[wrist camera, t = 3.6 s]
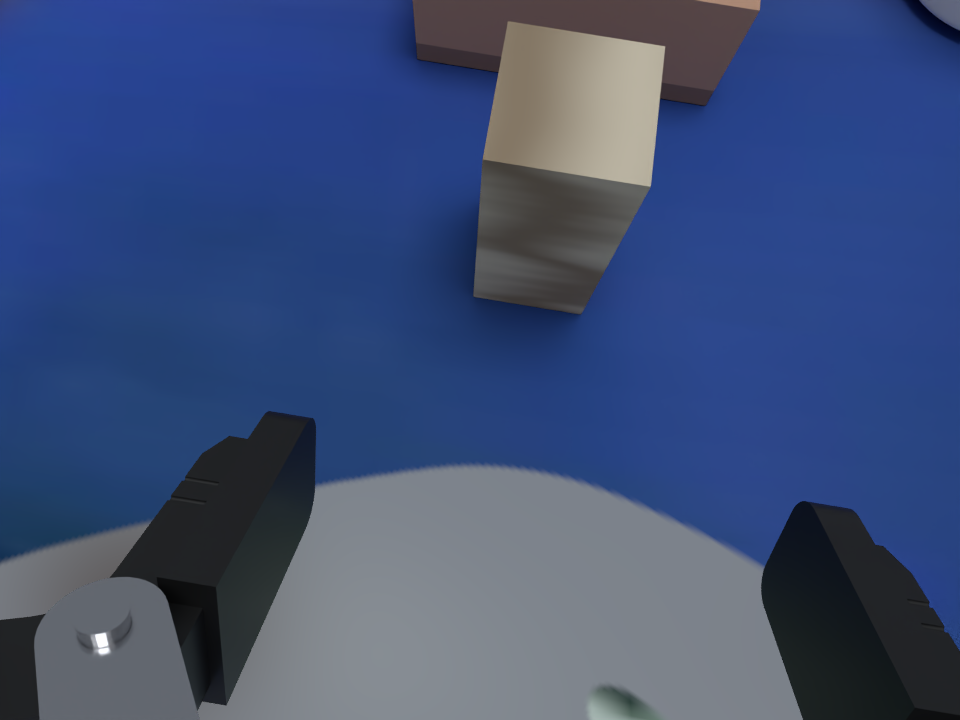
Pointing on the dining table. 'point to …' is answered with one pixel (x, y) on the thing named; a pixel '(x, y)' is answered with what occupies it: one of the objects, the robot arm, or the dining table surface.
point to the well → (595, 33)
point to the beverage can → (945, 11)
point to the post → (563, 163)
